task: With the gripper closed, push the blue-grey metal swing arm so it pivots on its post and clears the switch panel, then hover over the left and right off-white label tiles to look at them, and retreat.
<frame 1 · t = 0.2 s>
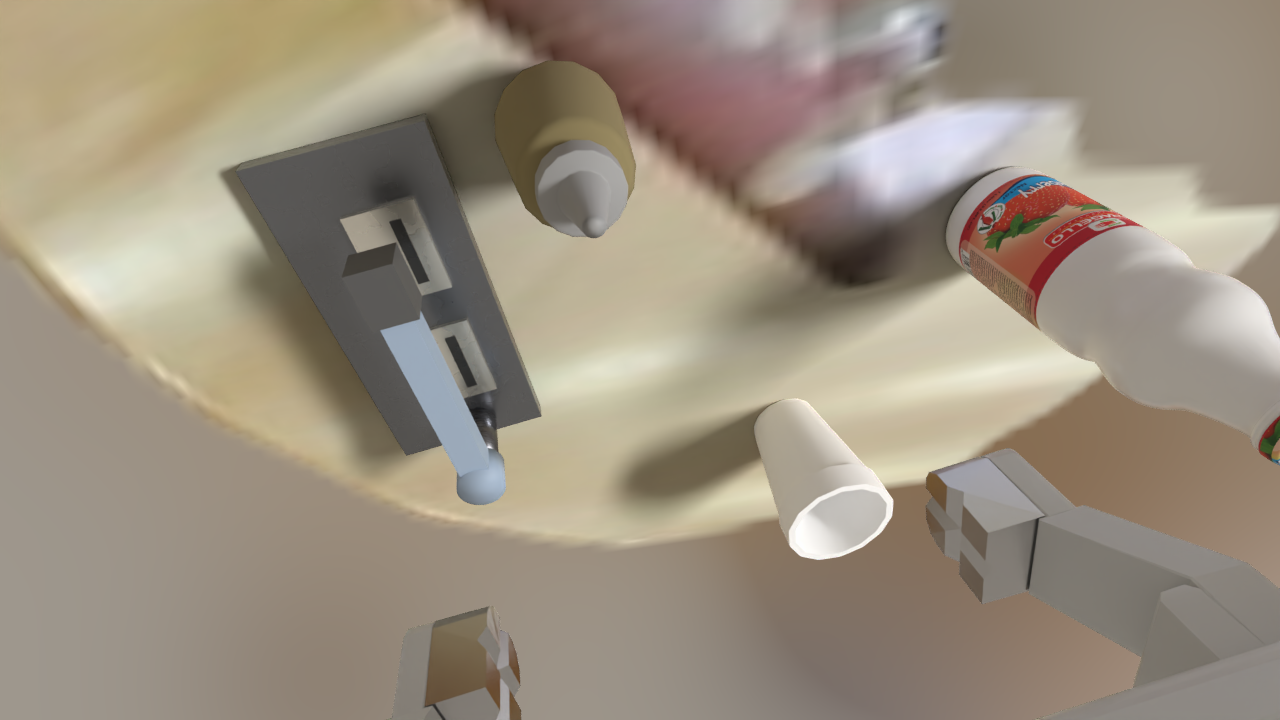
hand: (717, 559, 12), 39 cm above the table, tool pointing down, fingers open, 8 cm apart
squeeze bottle: (553, 111, 45), on the table
fruit juice: (992, 215, 58), on the table
foam cup: (783, 421, 67), on the table
swing arm: (437, 391, 46), point 8 cm above the table, hinge at 0.0°
switch panel: (415, 303, 51), on the table
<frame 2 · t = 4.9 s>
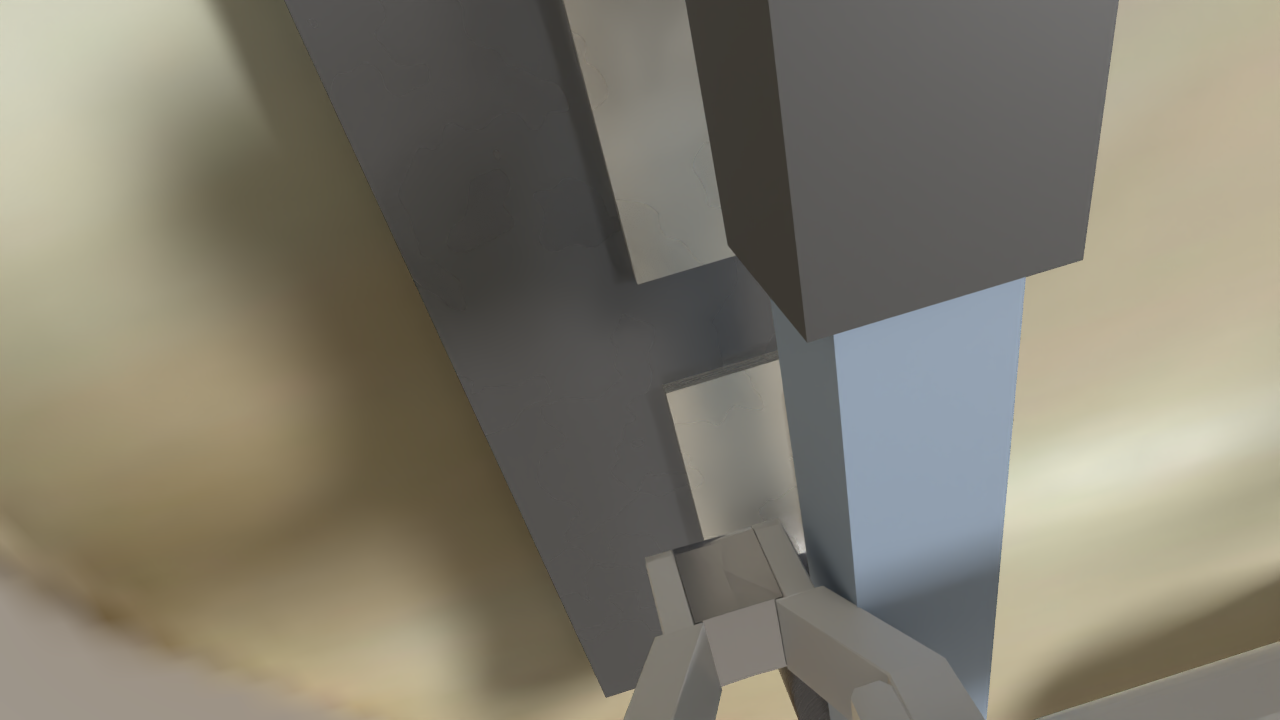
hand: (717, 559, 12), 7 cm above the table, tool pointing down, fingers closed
swing arm: (894, 599, 12), point 8 cm above the table, hinge at 0.0°, touching gripper
switch panel: (694, 289, 17), on the table
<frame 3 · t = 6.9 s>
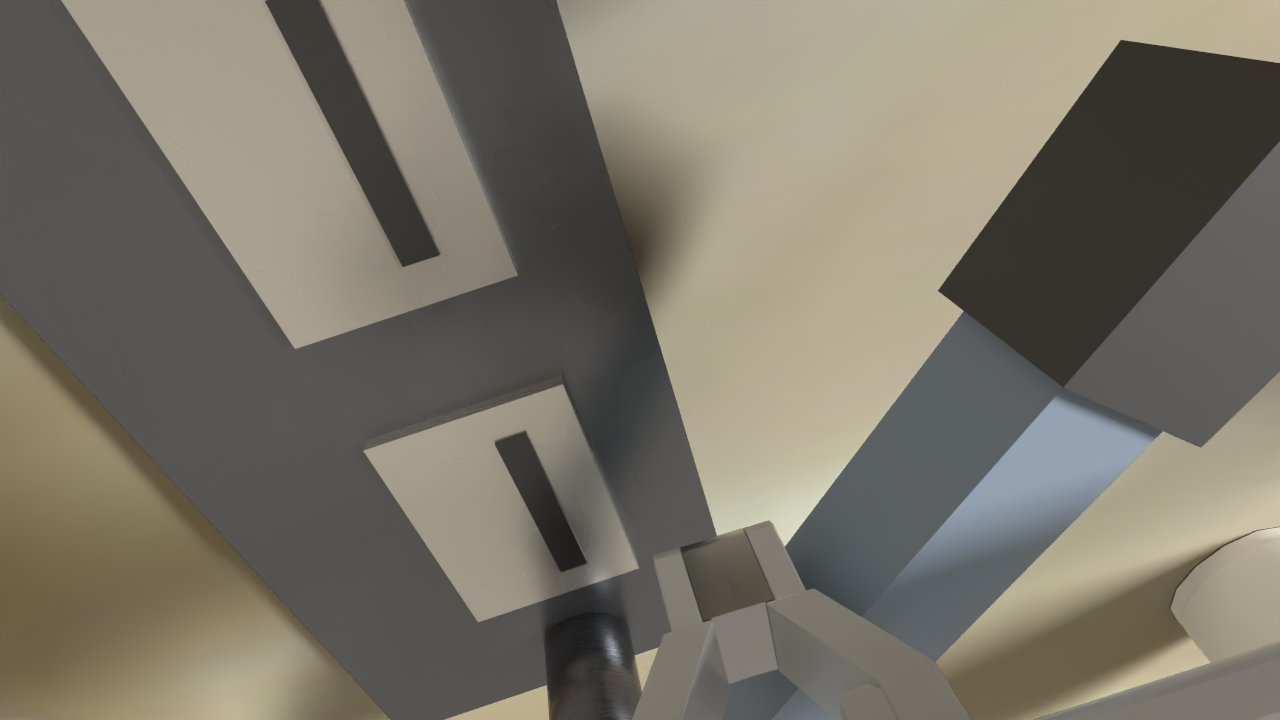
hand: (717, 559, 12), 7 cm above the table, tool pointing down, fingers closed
foam cup: (1233, 574, 30), on the table
swing arm: (818, 645, 13), point 8 cm above the table, hinge at 41.8°, touching gripper
switch panel: (403, 340, 17), on the table
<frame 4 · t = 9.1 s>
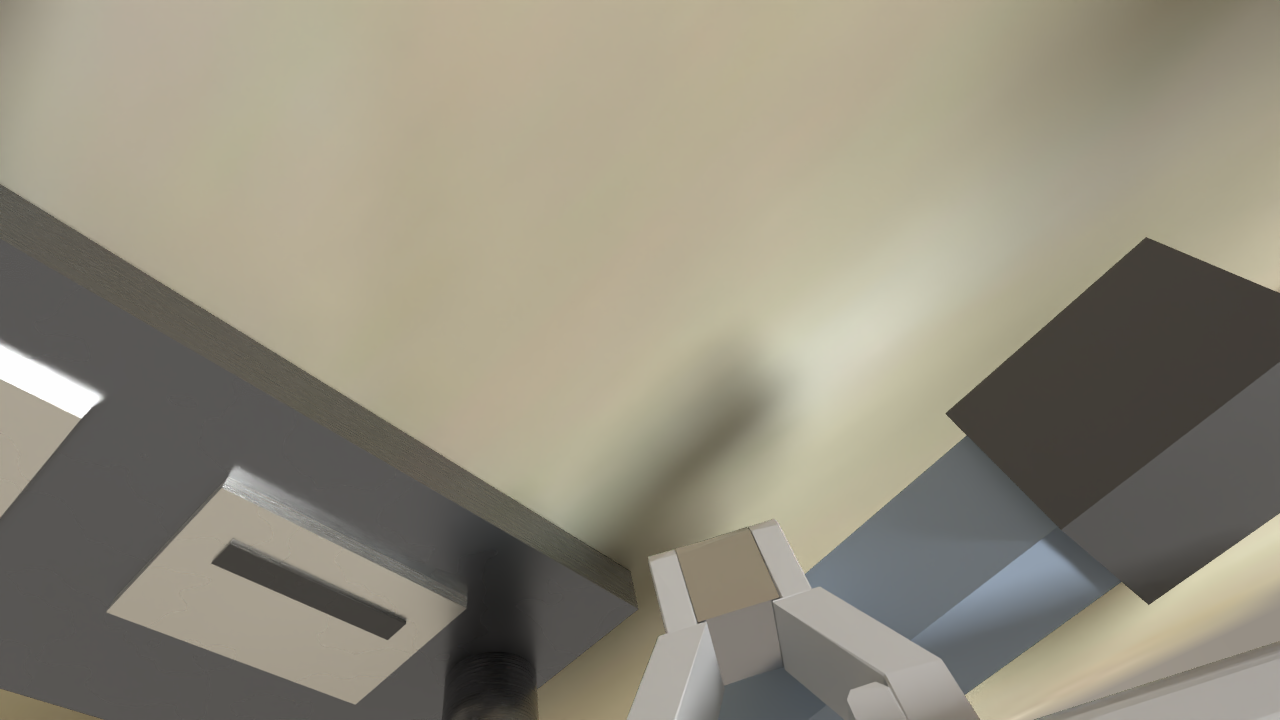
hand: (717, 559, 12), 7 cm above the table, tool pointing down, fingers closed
switch panel: (112, 494, 17), on the table
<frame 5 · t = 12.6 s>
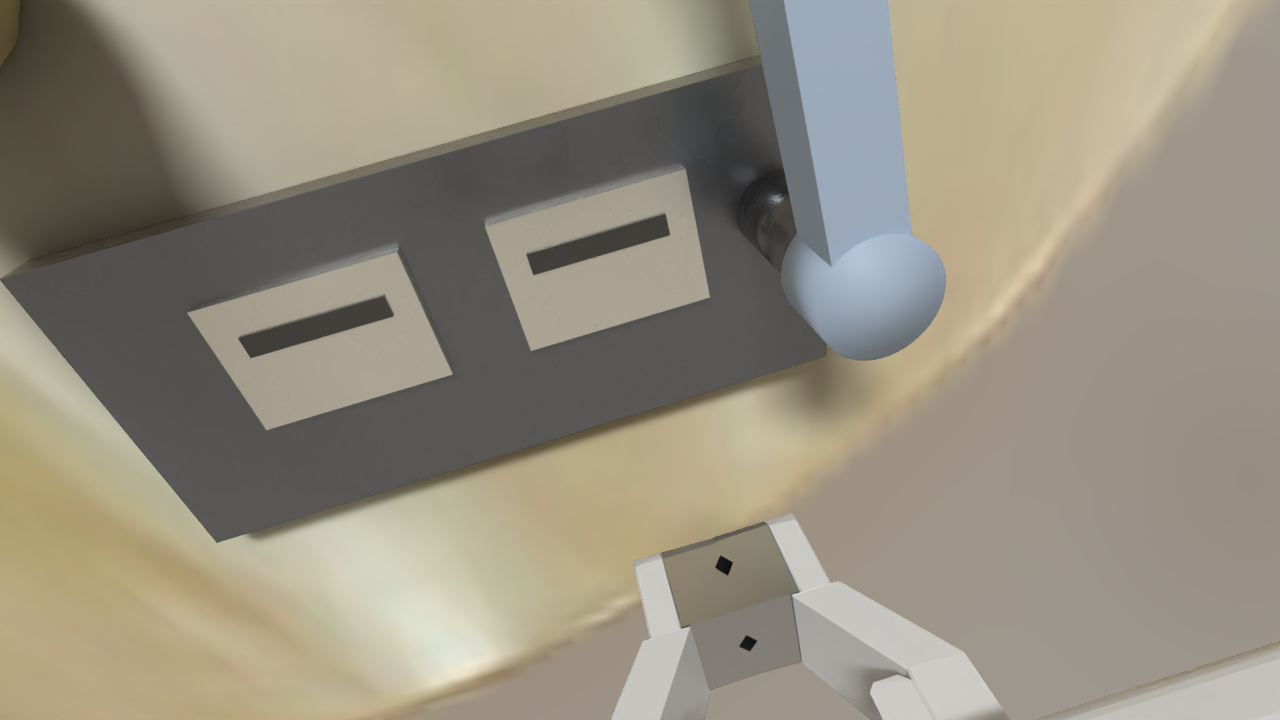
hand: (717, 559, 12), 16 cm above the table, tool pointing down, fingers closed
switch panel: (478, 305, 26), on the table
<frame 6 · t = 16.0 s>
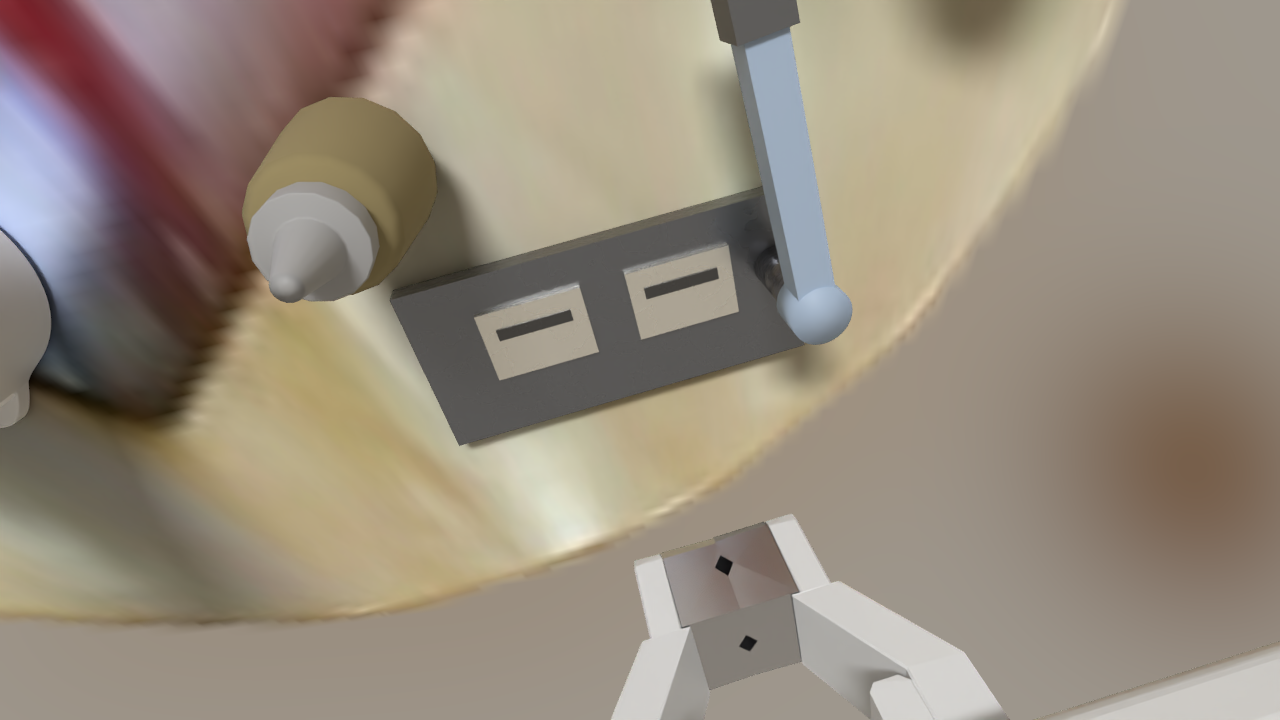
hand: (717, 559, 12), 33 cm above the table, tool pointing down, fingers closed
squeeze bottle: (370, 158, 39), on the table
swing arm: (785, 166, 35), point 8 cm above the table, hinge at 84.6°
switch panel: (610, 314, 47), on the table
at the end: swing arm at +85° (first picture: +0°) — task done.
